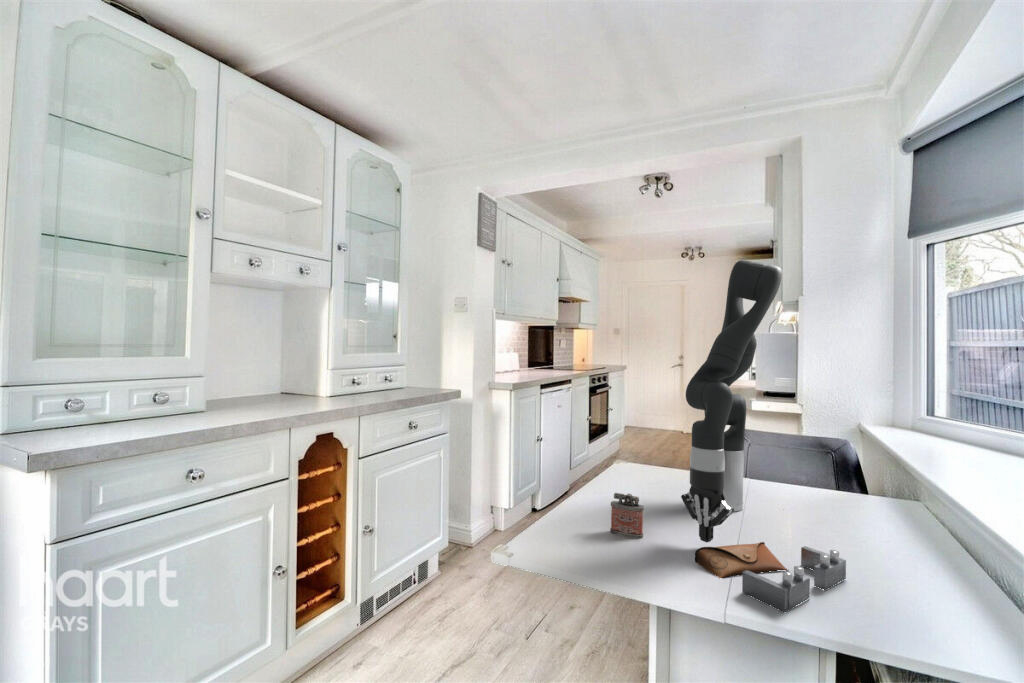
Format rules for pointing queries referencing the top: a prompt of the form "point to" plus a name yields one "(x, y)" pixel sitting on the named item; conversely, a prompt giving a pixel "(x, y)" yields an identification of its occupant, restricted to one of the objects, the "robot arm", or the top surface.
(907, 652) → the top surface
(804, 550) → the bracket
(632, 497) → the lighter
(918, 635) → the top surface
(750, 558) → the sunglasses case
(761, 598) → the bracket
